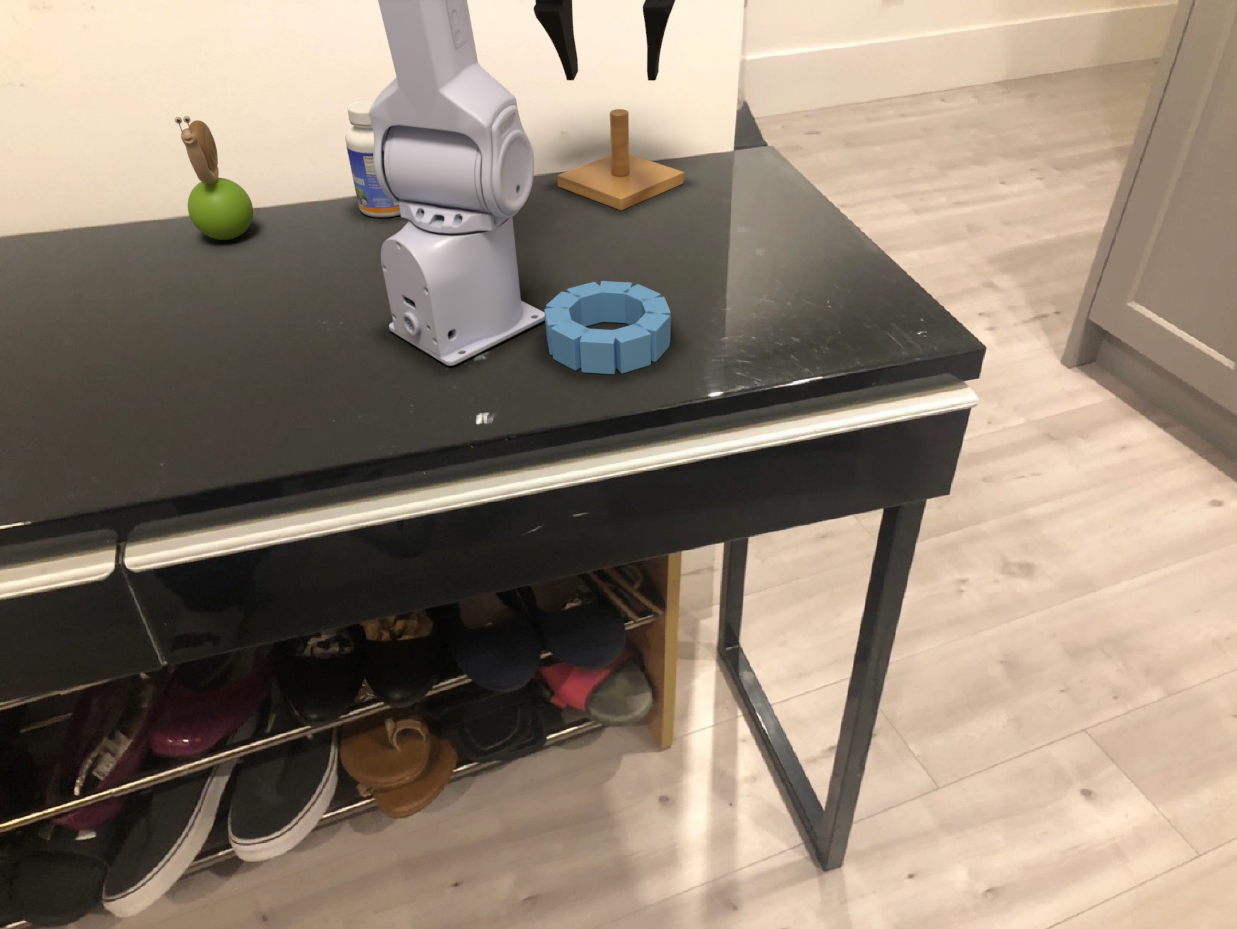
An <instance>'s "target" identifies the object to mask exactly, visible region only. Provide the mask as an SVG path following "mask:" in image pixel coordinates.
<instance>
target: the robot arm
mask: <svg viewBox="0 0 1237 929" xmlns="http://www.w3.org/2000/svg"><path fill="white" fill-rule="evenodd" d="M377 1H378V2H377V3H378V6H379V10H380V14H381V18H382V23H383V27H384V31H385V34H386V39H387V43H388V48H389V52H390V55H391V59H392V65H393V69H394V73H395V76H396V77H395V78H394V79H393V80H392V81H391V82H390V83H389V84H388V85H387V86H386V87H385V88H383V90H381V92H380V93H379V94H378V95H377V96H376V98H375V99H376V100H375V101H374V103H373V105H372V107H371V109H370V110H369V116H370V120H371V124H372V128H373V134H374V151H373V161H374V169H375V173H376V176H377V180H378V182H379V185H380V187H381V189H382V191H383V192H384V194H385V195H386V196H387V197H388V198H389V199H390V200H392V201H394V202H397V203H399V208H400V214H401V215H400V218H403V219H406V220H408V221H407V222H406V224H404V226H403V227H402V228H401V229H400V230H399V231H397V232H396V233H395V234H393V235H392V236H390V237H388V238H386V240H384V242H382V245H381V248H380V264H381V269H382V275H383V280H384V285H385V289H386V295H387V300H388V304H389V310H390V314H391V319H392V322H390V323H389V325H388V329H389V331H390V332H391V333H393V334H395V335H396V336H398V337H400V338H401V339H403V340H404V341H406V342H408V343H410V344H411V345H413V346H415V347H416V348H418V349H420V350H421V351H423V352H424V353H426V354H428V355H429V356H430V357H432V358H435V359H436V360H438V361H439V362H441V363H442V364H443V365H446V366H448V367H449V366H450V367H452V366H456V365H458V364H460V363H462V362H464V361H466V360H468V359H470V358H472V357H474V356H476V355H478V354H480V353H481V352H484V351H486V350H488V349H491V348H492V347H494V346H496V345H498V344H501V343H502V342H505V341H507V340H508V339H511V338H512V337H514V336H517V335H518V334H521V333H522V332H525V331H526V330H529V329H530V328H533V327H534V326H536V325H538V324H540V323H543V322H545V312H544V311H542V310H541V309H539V308H537V307H535V306H532V305H531V304H529V303H526V302H525V301H523V300H522V297H521V288H520V278H519V267H518V259H517V257H518V256H517V249H516V241H515V240H516V239H515V238H516V237H515V230H514V220H513V217H515V216H516V215H517V214H518V213H519V212H520V211H521V209H522V208H523V207H524V205H525V204H526V202H527V200H528V198H529V196H530V194H531V190H532V187H533V183H534V175H535V157H534V150H533V146H532V143H531V141H530V139H529V137H528V134H527V132H526V131H525V129H524V127H523V124H522V120H521V117H520V112H519V109H518V103H517V98H516V97H515V95H514V94H513V93H512V92H510V90H508V88H506V87H505V86H504V85H503V84H502V83H501V82H499V81H498V80H497V79H496V78H495V77H493V76H492V75H491V74H490V73H489V72H488V71H486V70H485V69H484V68H483V67H482V66H481V65H480V63H479V61H478V54H477V48H476V43H475V37H474V32H473V26H472V20H471V14H470V9H469V4H468V0H377ZM675 3H676V0H644V2H643V4H642V14H643V21H644V27H645V38H646V75H647V81H652V82H653V81H656V80H657V77H658V75H659V72H660V70H659V68H660V58H661V50H662V45H663V41H664V36H665V32H666V29H667V25H668V22H669V19H670V15H671V13H672V11H673V8H674V5H675ZM533 12H534V16H535V18H536V20H537V21H538V22H539V23H540V25H541V26H542V28H543V29H544V31H545V33H546V34H547V36H548V37H549V39H550V41H551V43H552V45H553V46H554V49H555V51H556V52H557V55H558V58H559V60H560V63H561V66H562V69H563V72H564V75H565V78H566V81H575V79H576V77H577V75H578V73H579V61H578V60H579V58H578V51H577V47H576V45H577V44H576V39H575V34H574V33H575V32H574V16H573V14H574V13H573V12H574V11H573V0H535V5H534V6H533Z"/></svg>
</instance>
